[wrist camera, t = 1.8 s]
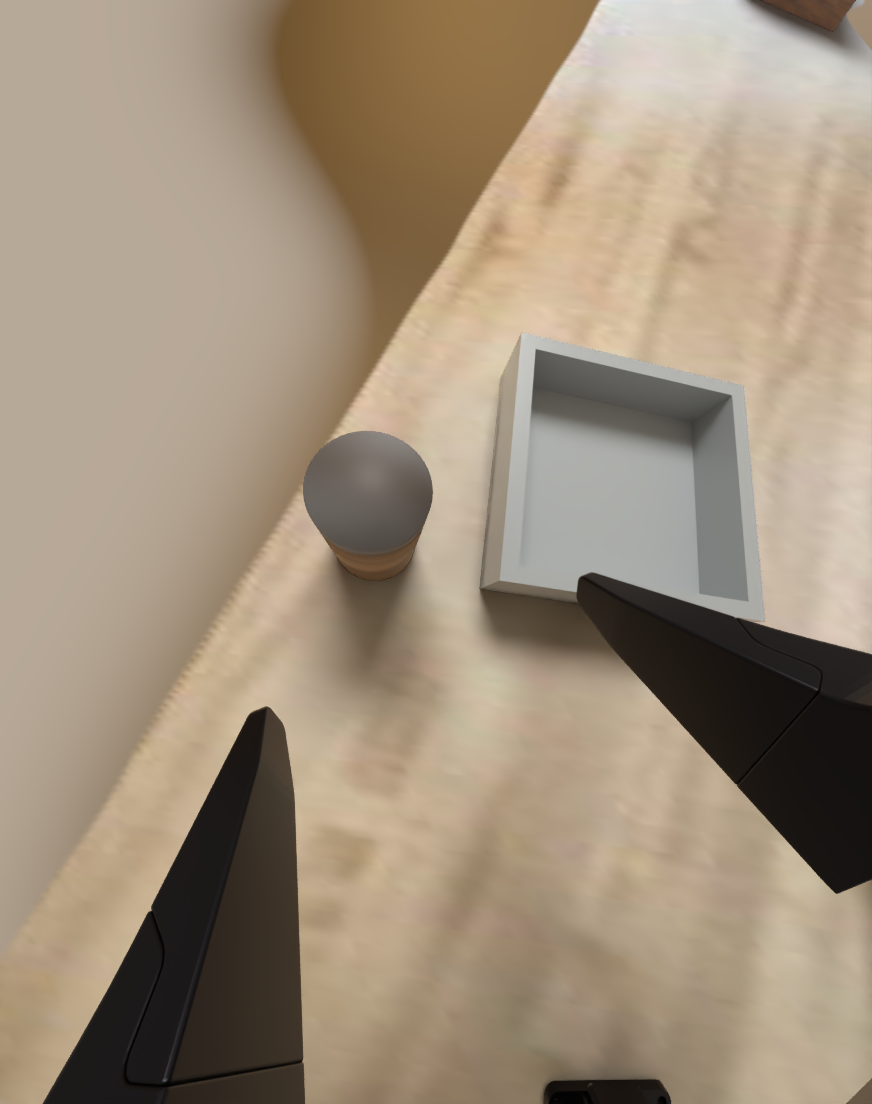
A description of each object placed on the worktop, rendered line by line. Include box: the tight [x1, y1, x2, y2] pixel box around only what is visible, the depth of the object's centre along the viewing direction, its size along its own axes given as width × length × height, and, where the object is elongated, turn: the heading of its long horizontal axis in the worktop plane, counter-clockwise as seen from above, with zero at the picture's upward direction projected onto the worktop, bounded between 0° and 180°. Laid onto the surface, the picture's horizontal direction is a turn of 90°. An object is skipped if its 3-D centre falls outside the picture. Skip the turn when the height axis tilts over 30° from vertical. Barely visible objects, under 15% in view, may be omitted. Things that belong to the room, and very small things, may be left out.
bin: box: [480, 332, 765, 622], centre depth 23 cm, size 16×16×4 cm
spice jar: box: [303, 431, 433, 580], centre depth 18 cm, size 5×5×8 cm
